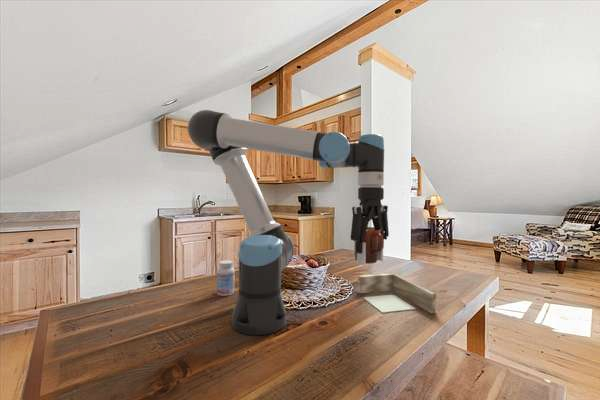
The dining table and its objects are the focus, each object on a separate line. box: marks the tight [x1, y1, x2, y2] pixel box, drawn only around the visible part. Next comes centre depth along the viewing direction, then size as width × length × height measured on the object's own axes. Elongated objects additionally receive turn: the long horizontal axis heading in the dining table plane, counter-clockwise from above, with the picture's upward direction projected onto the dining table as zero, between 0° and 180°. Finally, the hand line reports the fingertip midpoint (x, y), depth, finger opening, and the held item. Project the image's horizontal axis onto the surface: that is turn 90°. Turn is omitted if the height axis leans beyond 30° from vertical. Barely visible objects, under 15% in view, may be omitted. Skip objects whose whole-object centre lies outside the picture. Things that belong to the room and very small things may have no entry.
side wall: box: [357, 272, 394, 294], centre depth 103 cm, size 14×2×6 cm, turn 105°
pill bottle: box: [216, 259, 236, 297], centre depth 98 cm, size 6×6×11 cm
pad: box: [362, 294, 417, 314], centre depth 92 cm, size 12×12×1 cm
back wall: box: [392, 273, 437, 314], centre depth 96 cm, size 2×21×6 cm, turn 15°
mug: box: [353, 226, 385, 265], centre depth 84 cm, size 12×9×10 cm
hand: (370, 261), depth 85 cm, fingers closed on mug, 7 cm apart
